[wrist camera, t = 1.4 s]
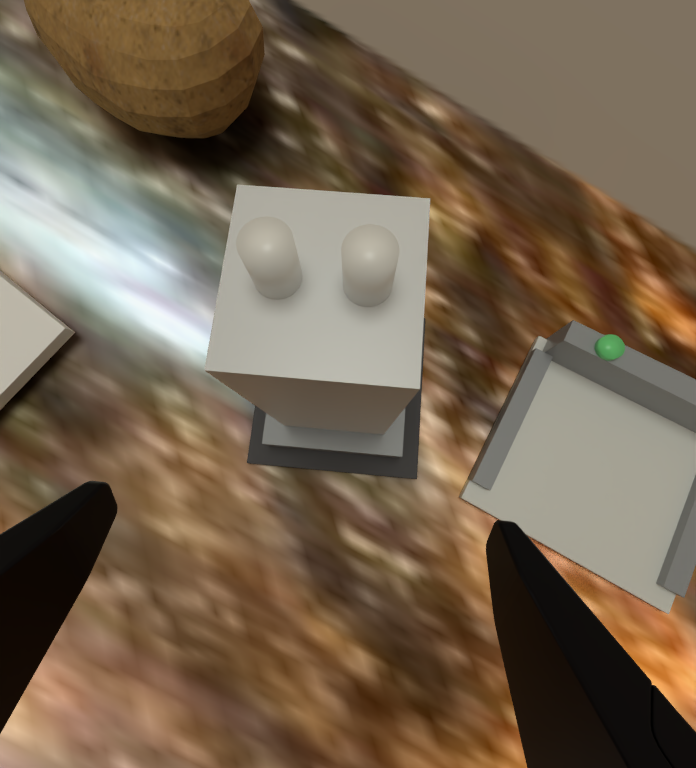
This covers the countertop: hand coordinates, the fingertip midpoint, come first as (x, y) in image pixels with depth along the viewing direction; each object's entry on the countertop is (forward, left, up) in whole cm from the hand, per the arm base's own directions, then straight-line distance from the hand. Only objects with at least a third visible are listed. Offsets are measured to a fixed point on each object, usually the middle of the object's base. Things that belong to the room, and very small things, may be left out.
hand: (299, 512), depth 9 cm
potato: (+12, +24, -12) cm, 30 cm away
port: (+10, -10, -12) cm, 19 cm away
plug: (+4, +3, -12) cm, 13 cm away
